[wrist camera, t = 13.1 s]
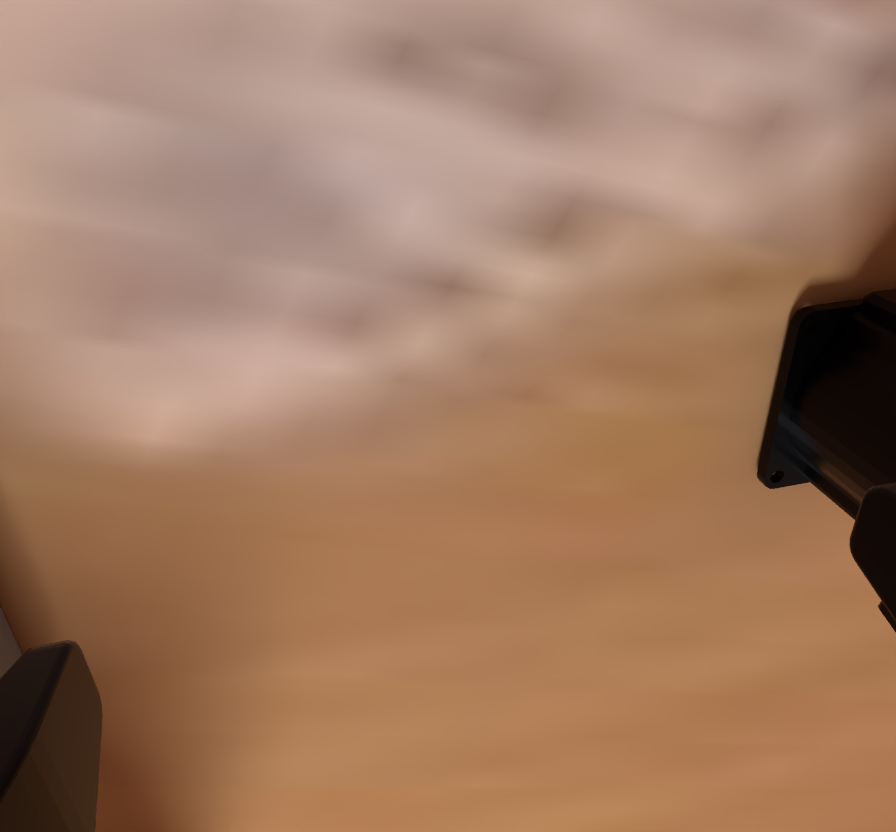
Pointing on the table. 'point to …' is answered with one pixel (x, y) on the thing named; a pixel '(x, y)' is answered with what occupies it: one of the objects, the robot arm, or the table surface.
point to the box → (7, 646)
